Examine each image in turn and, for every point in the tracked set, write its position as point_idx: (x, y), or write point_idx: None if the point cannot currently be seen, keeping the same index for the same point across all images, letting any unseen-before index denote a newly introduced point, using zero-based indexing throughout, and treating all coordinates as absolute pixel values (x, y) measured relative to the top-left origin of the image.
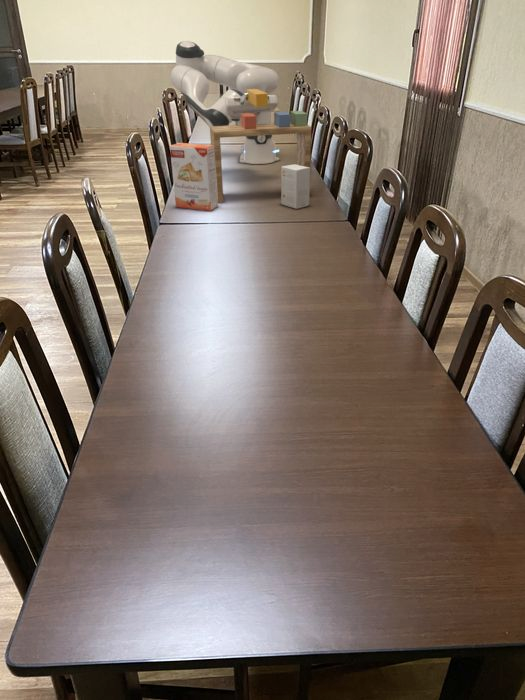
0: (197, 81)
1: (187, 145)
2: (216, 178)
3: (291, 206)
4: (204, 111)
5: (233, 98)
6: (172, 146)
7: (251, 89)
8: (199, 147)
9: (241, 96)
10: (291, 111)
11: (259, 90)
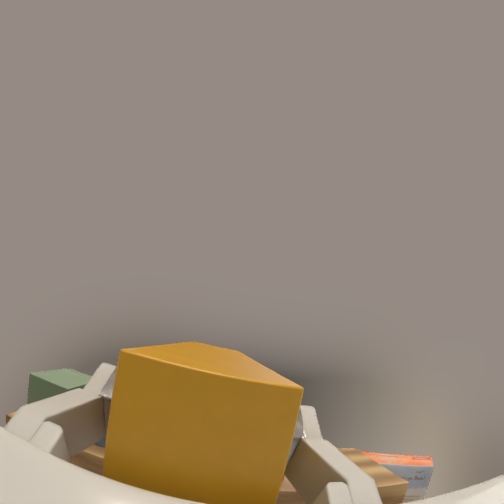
0: None
1: (394, 455)
2: None
3: None
4: None
5: (462, 493)
6: (424, 456)
7: (225, 369)
8: (361, 451)
9: (357, 467)
10: (68, 387)
11: (178, 345)
